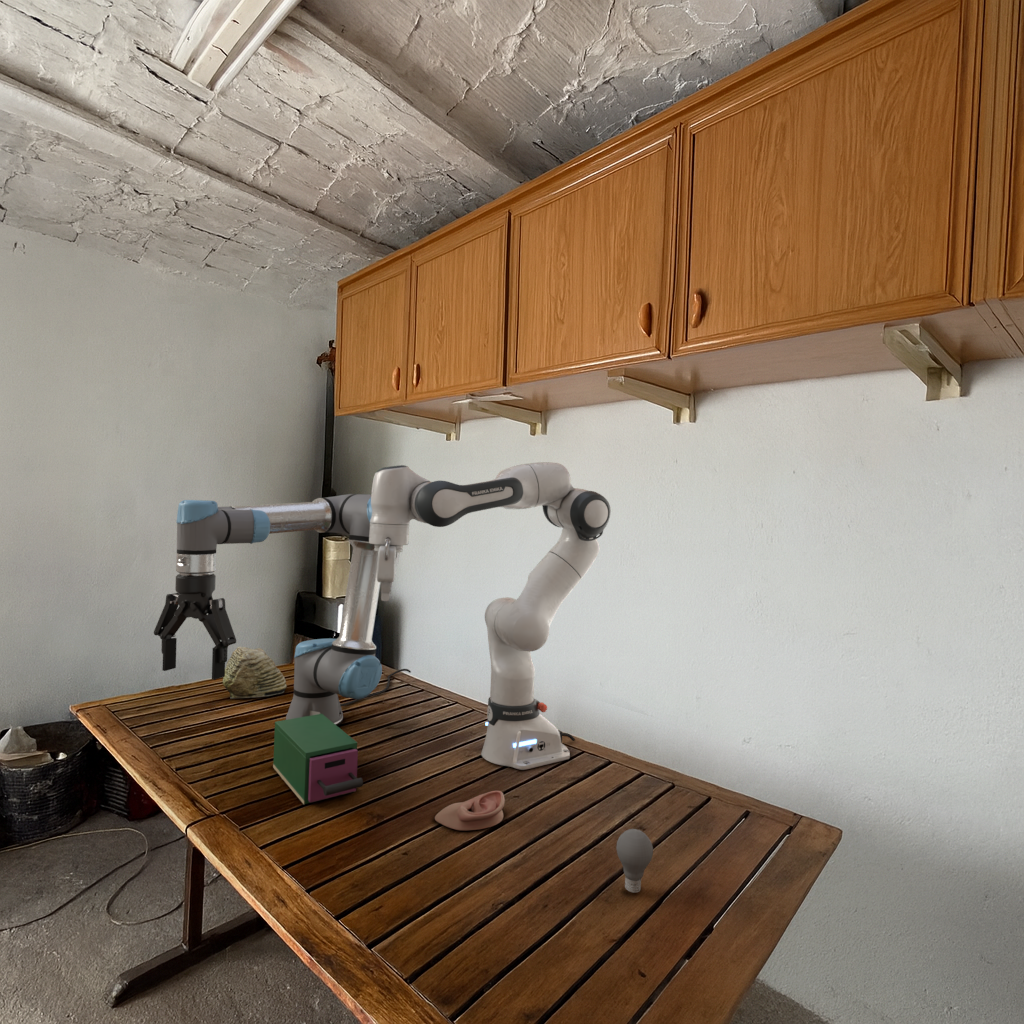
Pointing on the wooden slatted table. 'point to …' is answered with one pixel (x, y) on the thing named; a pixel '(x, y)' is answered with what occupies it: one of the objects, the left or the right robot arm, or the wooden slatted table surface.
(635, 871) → the light bulb
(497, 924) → the wooden slatted table surface
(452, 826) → the anatomical model
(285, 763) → the cabinet
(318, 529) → the left robot arm
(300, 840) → the wooden slatted table surface
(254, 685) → the fossil
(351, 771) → the drawer
